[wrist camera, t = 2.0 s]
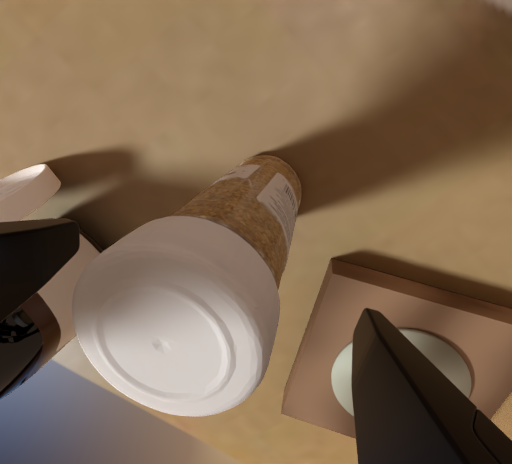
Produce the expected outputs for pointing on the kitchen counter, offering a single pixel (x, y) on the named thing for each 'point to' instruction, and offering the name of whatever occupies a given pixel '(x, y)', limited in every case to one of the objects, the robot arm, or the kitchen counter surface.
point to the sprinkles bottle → (193, 294)
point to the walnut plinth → (412, 327)
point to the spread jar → (48, 297)
